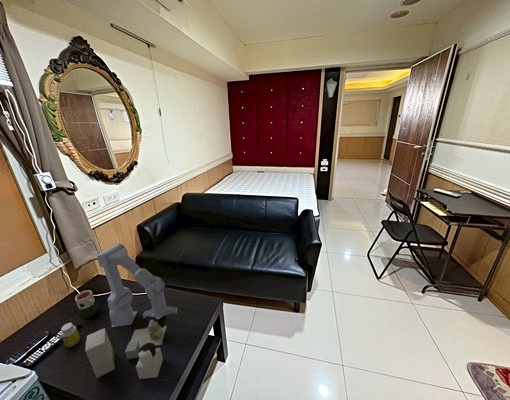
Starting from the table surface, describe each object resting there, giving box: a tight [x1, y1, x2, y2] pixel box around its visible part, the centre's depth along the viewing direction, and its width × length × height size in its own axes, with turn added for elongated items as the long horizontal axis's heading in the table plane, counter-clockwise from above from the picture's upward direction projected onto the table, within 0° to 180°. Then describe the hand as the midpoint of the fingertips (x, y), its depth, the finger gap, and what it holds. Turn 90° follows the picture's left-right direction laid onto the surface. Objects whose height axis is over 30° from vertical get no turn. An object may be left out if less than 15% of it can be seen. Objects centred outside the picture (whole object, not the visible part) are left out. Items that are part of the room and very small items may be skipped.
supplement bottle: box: [60, 322, 81, 348], centre depth 98 cm, size 5×5×10 cm
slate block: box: [124, 342, 140, 360], centre depth 93 cm, size 4×4×5 cm
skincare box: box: [85, 327, 116, 379], centre depth 87 cm, size 8×7×16 cm
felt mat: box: [129, 324, 167, 348], centre depth 101 cm, size 15×10×1 cm, turn 99°
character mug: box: [74, 289, 98, 319], centre depth 112 cm, size 11×7×13 cm, turn 70°
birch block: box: [147, 319, 162, 340], centre depth 100 cm, size 4×4×8 cm
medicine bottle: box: [135, 343, 164, 380], centre depth 86 cm, size 7×7×12 cm
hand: (163, 325), depth 100 cm, fingers closed
